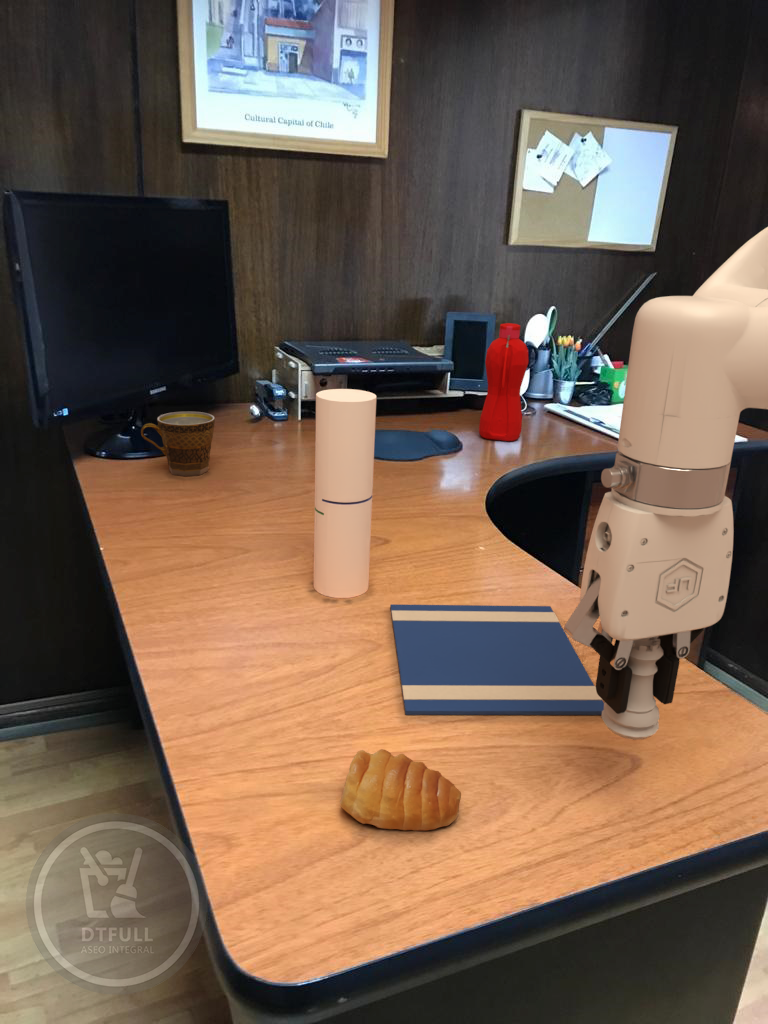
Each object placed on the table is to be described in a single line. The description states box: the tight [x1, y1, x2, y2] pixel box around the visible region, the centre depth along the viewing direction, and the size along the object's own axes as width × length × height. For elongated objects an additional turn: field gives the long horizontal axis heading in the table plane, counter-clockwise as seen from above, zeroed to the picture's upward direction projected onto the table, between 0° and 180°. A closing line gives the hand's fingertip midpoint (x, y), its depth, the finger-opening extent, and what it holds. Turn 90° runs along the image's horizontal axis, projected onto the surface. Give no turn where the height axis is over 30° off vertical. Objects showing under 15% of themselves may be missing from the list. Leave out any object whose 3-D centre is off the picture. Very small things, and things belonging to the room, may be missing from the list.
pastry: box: [339, 748, 462, 832], centre depth 62 cm, size 9×7×4 cm
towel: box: [389, 603, 605, 716], centre depth 85 cm, size 20×22×1 cm
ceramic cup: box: [140, 410, 216, 478], centre depth 139 cm, size 13×10×10 cm
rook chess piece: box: [601, 636, 664, 741], centre depth 61 cm, size 4×4×8 cm
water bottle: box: [478, 322, 529, 442], centre depth 169 cm, size 9×11×25 cm
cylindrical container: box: [313, 388, 377, 599], centre depth 96 cm, size 7×7×25 cm
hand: (633, 696), depth 61 cm, fingers closed on rook chess piece, 3 cm apart
